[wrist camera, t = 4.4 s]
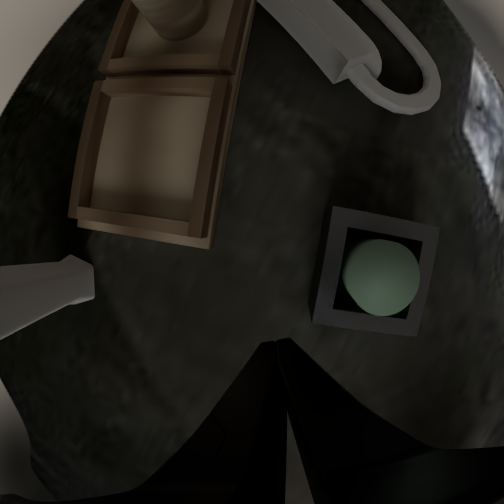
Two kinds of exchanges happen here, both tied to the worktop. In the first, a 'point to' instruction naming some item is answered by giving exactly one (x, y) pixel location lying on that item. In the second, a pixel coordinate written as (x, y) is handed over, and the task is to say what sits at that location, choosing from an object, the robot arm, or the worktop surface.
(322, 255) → the button housing
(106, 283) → the worktop surface
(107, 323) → the worktop surface
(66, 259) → the perfume bottle
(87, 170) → the divided wooden tray
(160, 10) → the wooden billet
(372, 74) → the oval loop handle
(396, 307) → the button
